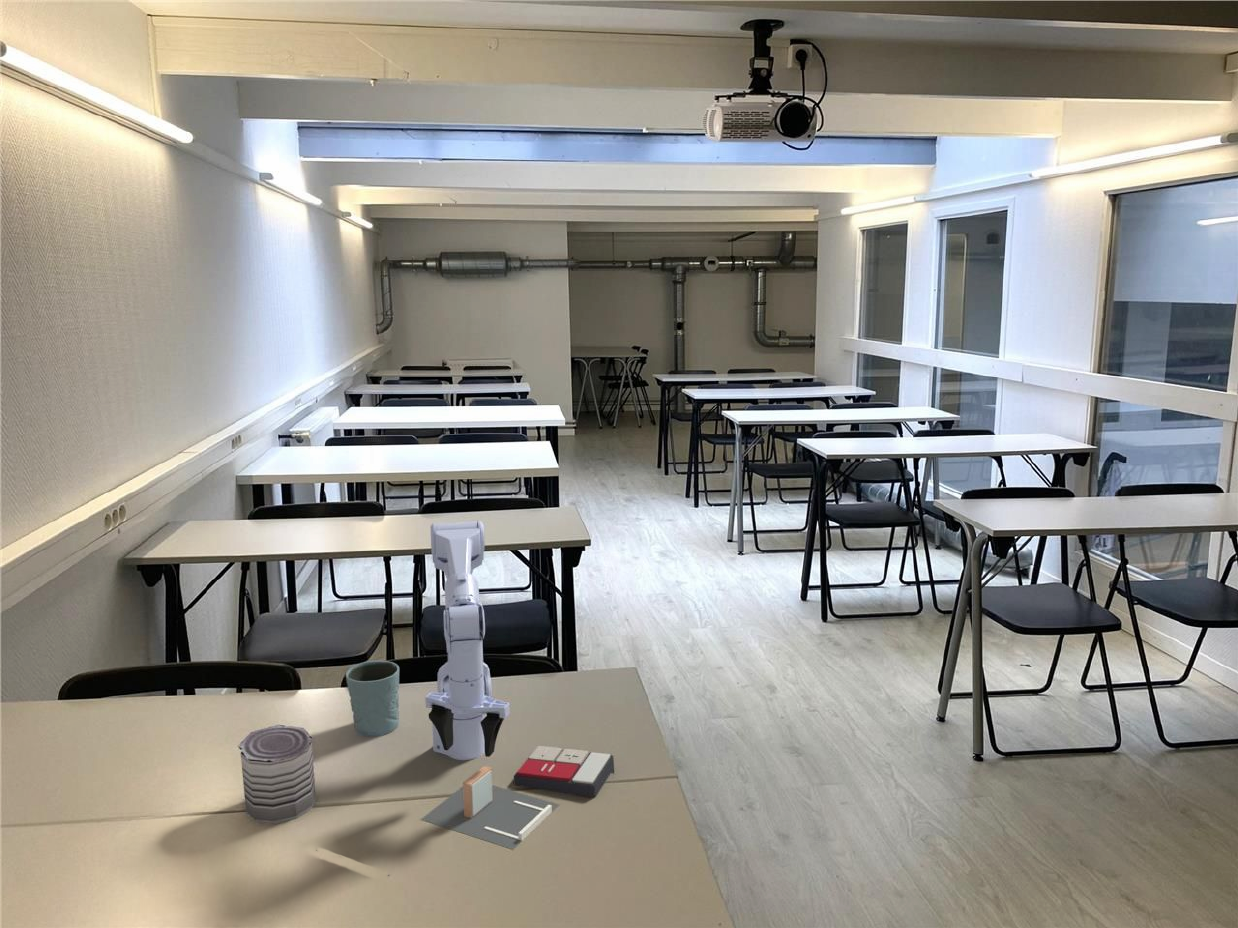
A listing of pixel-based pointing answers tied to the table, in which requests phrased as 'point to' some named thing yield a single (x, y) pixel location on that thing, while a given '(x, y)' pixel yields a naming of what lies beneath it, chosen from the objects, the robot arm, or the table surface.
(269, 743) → the can
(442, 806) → the mat
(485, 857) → the table surface
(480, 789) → the tile
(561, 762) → the calculator
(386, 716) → the green cup
